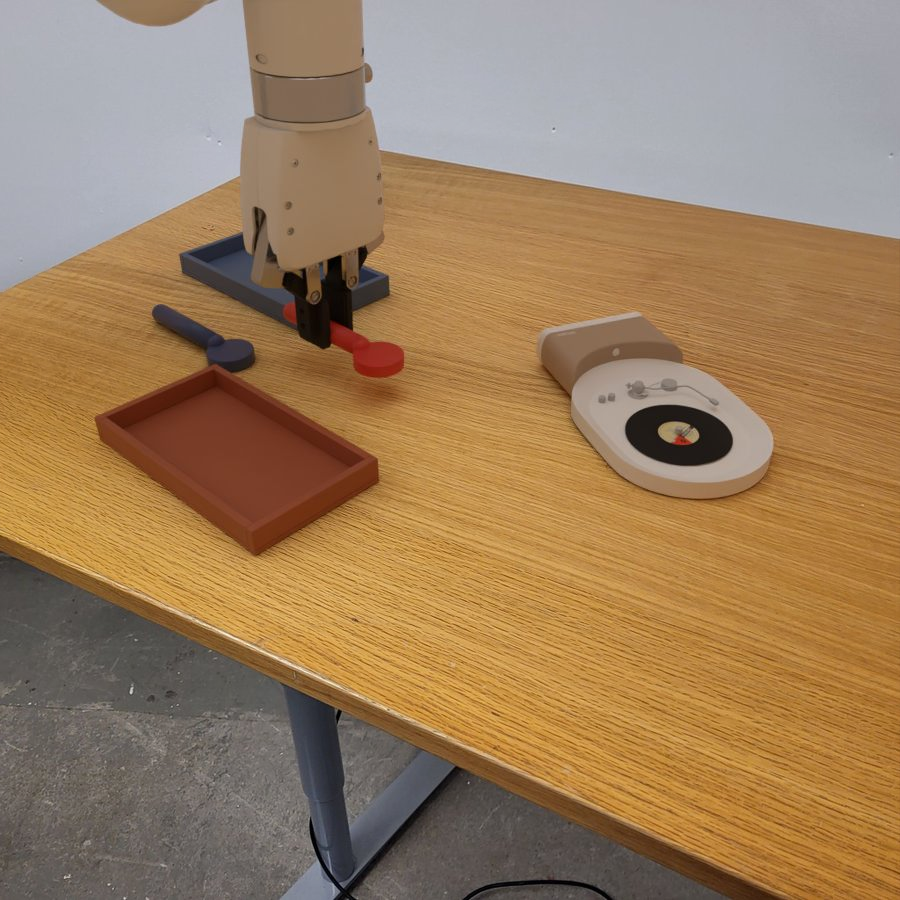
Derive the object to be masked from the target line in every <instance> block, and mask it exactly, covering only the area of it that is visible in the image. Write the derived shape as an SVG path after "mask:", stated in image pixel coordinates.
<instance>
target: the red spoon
mask: <svg viewBox="0 0 900 900" xmlns="http://www.w3.org/2000/svg"><path fill="white" fill-rule="evenodd" d="M283 315H284V317H285V319H286V320H288V321H289V322H291V323H293V324H295V325H297V320H296V309H295V302H291V303H288V304H287V305H286V306H285V307H284V309H283ZM330 330H331V336H330V340H331V345H333V346H336V347H337V348H339V349H341V350H343V351H345V352H347V353H349V354H350V355H352V366H353V367H352V368H353V369H354V371H355V372H356V373H358V374H359V375H361V376H364V377H367V378H373V379H382V378H389V377H392V376H395V375H397V374H399V373H400V372H401V371H402V370H404V367H405V352H404V349H403V348H402V347H401V346H399V345H397V344H395V343H393V342H389V341H370V340H369V338H368V337H366V336H364V335H362V334H360V333H358V332H356V331H354V330H353V331H352V330H350V329H348V328H346V327H344V326H342V325H340V324H338V323H336V322H334V321H332V320H330Z"/></svg>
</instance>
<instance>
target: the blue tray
mask: <svg viewBox="0 0 900 900" xmlns="http://www.w3.org/2000/svg"><path fill="white" fill-rule="evenodd" d="M178 256H179V263H180V268H181V273H183V274H185V275H187V276H189V277H191V278H192V279H195V280H197V281H199V282H201V283H203V284H205V285H207V286H209V287H211V288H212V289H215V290H216V291H219V292H221V293H222V294H225V295H226V296H229V297H230V298H232V299H234V300H236V301H239V302H240V303H242V304H244V305H247V306H248V307H251V308H252V309H254V310H256V311H258V312H260V313H262V314H264V315H266V316H268V317H270V318H272V319H273V320H276V321H278V322H280V323H282V324H284V325H286V326H288V327H289V328H292V329H294V330H296V331H298V329H297V325H295V324H293V323H291V322H289V321H288V320H286V319H285V317H284V315H283V309H284V307H285V306H286V305H287V304H288V303H291V302H295V298H294V295H292V294H290V293H289V292H287V290H285V289H284V288H281V289H279V288H264V287H262V286H260V285H258V284H256V283H254V282H252V281H251V272H252V267H253V261H254V256H253V255H250V254H249V253H247V251H246V248H245V244H244V238H243V231H241V232H238V233H235V234H232V235H230V236H227V237H223V238H220V239H218V240H215V241H211V242H209V243H206V244H203V245H201V246H198V247H197V246H196V247H194V248H192V249H188V250H186V251H183V252H180V253H178ZM278 267H279V265H278ZM319 271H320V280H322V279H325V277H324V274H323V262H320V263H319ZM301 274H302V272H301ZM358 275H359V280H358V284H357V286H356V287H355V288H354V289H351V291H352V310H353V312H354V311H356V310H358V309H360V308H364V307H365V306H368V305H369V304H372V303H374V302H376V301H379V300H381V299H383V298H385V297H387V296H389V295H390V293H391V291H390V276H389V275H388V274H387V273H384V272H381V271H379V270H376V269H374V268H372V267H369V266H366V265H364V264H363V265H362V267H361V269H360V270H359V272H358ZM302 279H303V277H302Z"/></svg>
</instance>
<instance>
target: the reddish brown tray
mask: <svg viewBox="0 0 900 900" xmlns="http://www.w3.org/2000/svg"><path fill="white" fill-rule="evenodd" d="M93 418H94V422H95V426H96V429H97V433H98V438H99V440H101V441H102V442H103V443H105V445H107V446H109V447H110V448H111V449H113V450H114V451H115V452H117V453H118V454H119V455H121V456H122V457H123V458H124V459H126V460H127V461H129V462H130V463H132V465H134V466H135V467H136V468H137V469H139V470H140V471H142V472H143V473H144V474H146V475H147V476H149V477H150V478H151V479H152V480H154V481H155V482H156V483H158V484H159V485H161V486H162V488H164V489H166V490H167V491H168V492H170V493H171V494H172V495H174V496H175V497H176V498H178V499H179V500H180V501H182V502H183V503H185V504H186V505H187V506H189V508H191V509H193V511H195V512H196V513H198V514H199V515H200V516H202V517H203V518H205V520H207V521H208V522H210V523H211V524H212V525H214V526H215V527H216V528H218V529H219V530H220V531H222V532H223V533H224V534H226V535H227V536H229V537H230V539H233V541H235V542H237V543H238V544H239V545H240V546H242V547H243V548H245V549H246V550H247V551H249V553H251V554H253V555H254V556H258V555H260V554H261V553H263V552H264V551H266V550H267V549H269V548H271V547H272V546H274V545H276V544H278V543H279V542H281V541H283V540H284V539H286V538H287V537H289V536H291V535H292V534H294V533H296V532H297V531H299V530H300V529H302V528H305V527H306V526H307V525H309V524H311V523H312V522H314V521H316V520H318V519H319V518H321V517H322V516H324V515H326V514H327V513H329V512H331V511H332V510H334V509H335V508H337V507H339V506H340V505H342V504H344V503H345V502H347V501H349V500H351V499H352V498H353V497H356V496H357V495H359V494H360V493H362V492H365V490H367V489H368V488H371V487H372V486H374V485H376V484H377V483H378V482H380V473H379V471H380V470H379V458H378V457H377V456H375V455H372V454H371V453H369V452H368V451H365V449H362V447H359V446H357V445H356V444H354V443H352V442H351V441H349V440H347V439H345V438H343V437H342V436H340V435H339V434H337V433H335V432H334V431H332V430H330V429H328V428H326V427H325V426H323V425H321V424H319V423H318V422H316V421H314V420H313V419H311V418H310V417H307V416H306V415H304V414H303V413H301V412H299V411H298V410H296V409H294V408H292V407H291V406H289V405H287V404H286V403H284V402H282V401H280V400H279V399H276V398H275V397H273V396H271V395H270V394H268V393H267V392H265V391H263V390H261V389H260V388H258V387H257V386H254V385H253V384H251V383H250V382H248V381H246V380H244V379H242V378H241V377H239V376H237V375H236V374H234V373H233V372H229V371H227V370H225V369H224V368H222V367H220V366H218V365H217V364H214V365H212V366H209V365H208V366H207V367H205V368H203V369H200V370H198V371H196V372H194V373H191V374H189V375H187V376H184V377H182V378H179V379H177V380H175V381H173V382H171V383H169V384H166V385H163V386H161V387H160V388H157V389H155V390H152V391H149V392H148V393H146V394H144V395H141V396H139V397H137V398H134V399H132V400H130V401H127V402H125V403H122V404H121V405H119V406H116V407H114V408H112V409H109V410H108V411H105V412H103V413H100V414H97V415H95V416H94V417H93Z"/></svg>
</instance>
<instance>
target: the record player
mask: <svg viewBox="0 0 900 900" xmlns="http://www.w3.org/2000/svg"><path fill="white" fill-rule="evenodd" d="M536 357H537V359H538V361H539V362H540V363H541V364H542V365H543V367H544V368H545V369H546V370H547V371H548V372H549V373H550V375H551V376H552V377H553V378H554V379H555V380H556V381H557V382H558V384H559V385H560V386H561V387H562V388H563V390H564V391H565V392H566V393H567V394H568V395H569V396H570V397H571V401H570V415H571V419H572V421H573V422H574V424H575V426H576V427H577V428H578V430H579V431H580V432H581V434H582V435H583V436H584V437H585V439H586V440H587V441H588V442H589V444H591V445H592V447H593V448H594V449H595V450H596V451H597V453H598V454H599V455H600V456H601V458H602V459H603V460H604V461H605V462H606V463H607V464H608V465H609V466H610V467H611V468H612V470H614V471H615V472H616V473H617V474H618V475H619V476H621V477H622V478H624V479H625V480H627V481H629V482H630V483H632V484H634V485H636V486H639V487H640V488H643V489H645V490H648V491H650V492H653V493H657V494H660V495H663V496H664V495H665V496H670V497H674V498H683V499H692V500H693V499H694V500H698V499H699V500H704V499H718V498H724V497H729V496H733V495H736V494H739V493H741V492H744V491H746V490H748V489H750V488H753V486H755V485H756V484H757V483H758V482H760V481H761V480H762V479H763V478H764V476H765V475H766V473H767V472H768V470H769V467H770V463H771V459H772V456H773V450H774V443H775V442H774V436H773V433H772V431H771V429H770V427H769V426H768V425H767V423H766V422H765V421H764V420H763V418H761V416H759V414H757V413H756V412H755V411H754V410H752V408H751V407H749V406H748V405H747V404H746V403H745V402H744V401H743V400H741V399H740V398H739V397H738V396H737V395H736V394H735V393H733V391H731V390H730V389H729V388H728V387H726V386H725V385H724V384H723V383H721V382H720V381H719V380H718V379H717V378H715V377H713V376H712V375H710V374H709V373H707V372H705V371H703V370H701V369H699V368H696V367H693V366H690V365H687V364H684V354H683V351H682V350H681V348H680V346H678V345H677V344H676V343H675V342H674V341H673V340H671V339H670V338H669V336H667V335H666V334H665V333H663V332H662V331H661V330H660V329H658V328H657V326H655V325H654V324H653V323H652V322H651V321H649V320H648V319H647V318H646V317H645V316H644V315H643V314H641V313H640V312H639V311H631V312H627V313H626V312H625V313H621V314H614V315H610V316H604V317H599V318H594V319H588V320H583V321H578V322H572V323H568V324H567V323H566V324H562V325H557V326H551V327H546V328H544V329H543V330H541V332H540V333H539V335H538V337H537V342H536Z"/></svg>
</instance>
